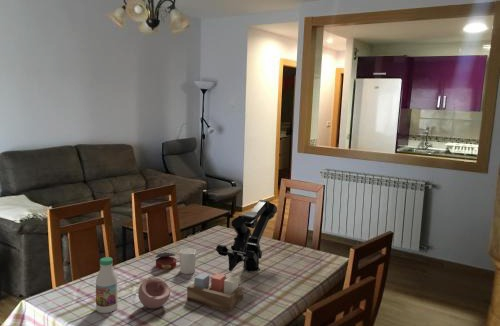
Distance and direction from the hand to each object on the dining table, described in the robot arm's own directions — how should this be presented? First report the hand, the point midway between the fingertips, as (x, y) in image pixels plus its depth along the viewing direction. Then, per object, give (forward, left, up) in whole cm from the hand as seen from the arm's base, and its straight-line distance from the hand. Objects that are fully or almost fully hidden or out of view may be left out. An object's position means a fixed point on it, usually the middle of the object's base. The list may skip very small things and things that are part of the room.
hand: (230, 270), depth 175 cm
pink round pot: (+34, +5, -8) cm, 35 cm away
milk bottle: (+51, 0, -8) cm, 52 cm away
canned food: (+20, -33, -8) cm, 40 cm away
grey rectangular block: (+14, +4, -6) cm, 16 cm away
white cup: (+12, -23, -8) cm, 27 cm away
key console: (+10, +8, -8) cm, 15 cm away
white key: (+4, +11, -6) cm, 13 cm away
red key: (+8, +7, -6) cm, 12 cm away
